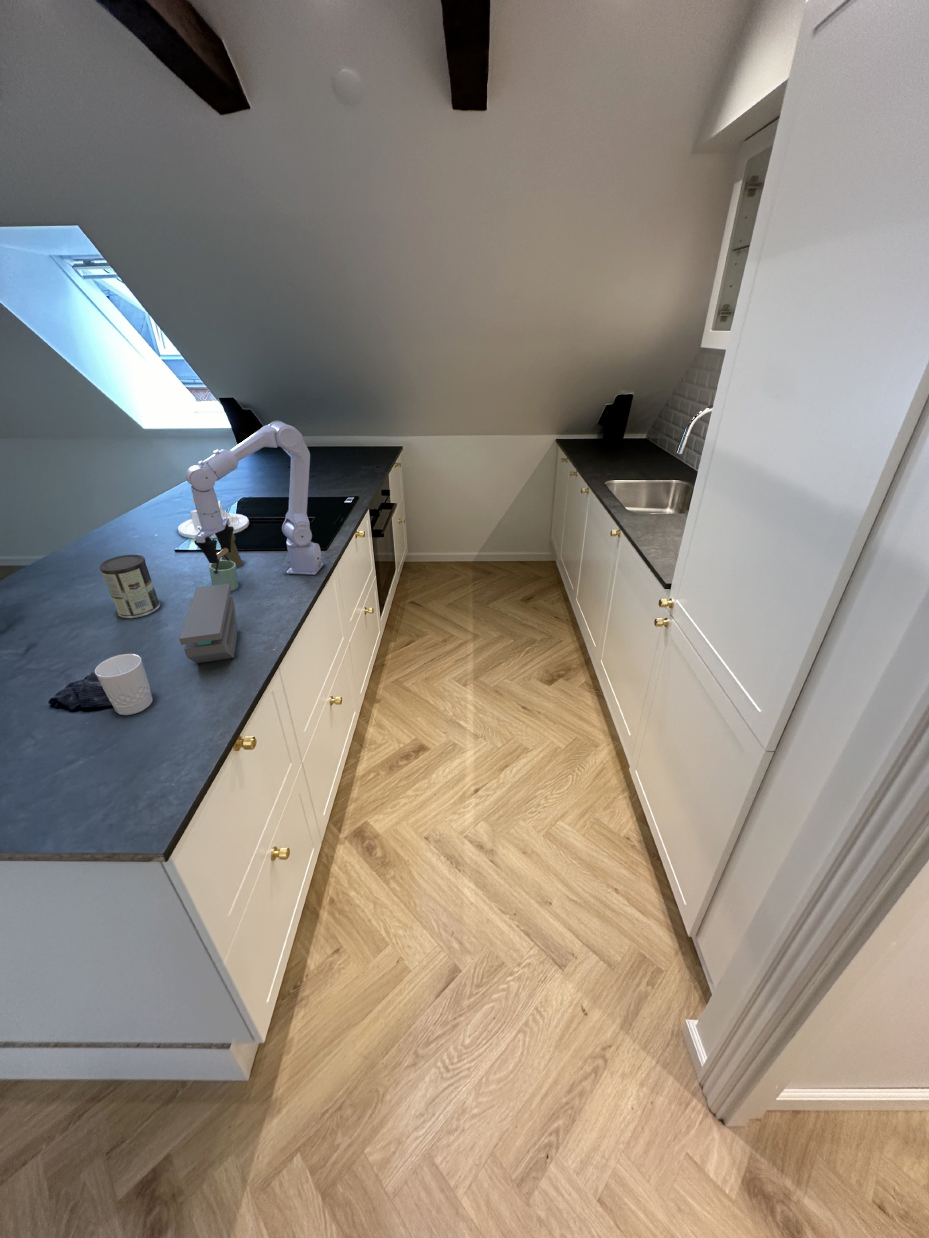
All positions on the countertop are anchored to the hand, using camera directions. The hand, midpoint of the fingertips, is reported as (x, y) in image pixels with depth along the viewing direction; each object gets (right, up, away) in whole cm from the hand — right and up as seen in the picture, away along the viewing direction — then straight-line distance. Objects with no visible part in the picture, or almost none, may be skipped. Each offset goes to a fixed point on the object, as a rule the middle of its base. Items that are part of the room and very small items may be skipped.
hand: (220, 557), depth 146 cm
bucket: (-1, -8, +5) cm, 9 cm away
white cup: (+2, -36, -41) cm, 54 cm away
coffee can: (-19, -15, -6) cm, 25 cm away
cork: (-5, 0, +19) cm, 20 cm away
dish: (-26, +17, +50) cm, 59 cm away
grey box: (+10, -25, -23) cm, 35 cm away
